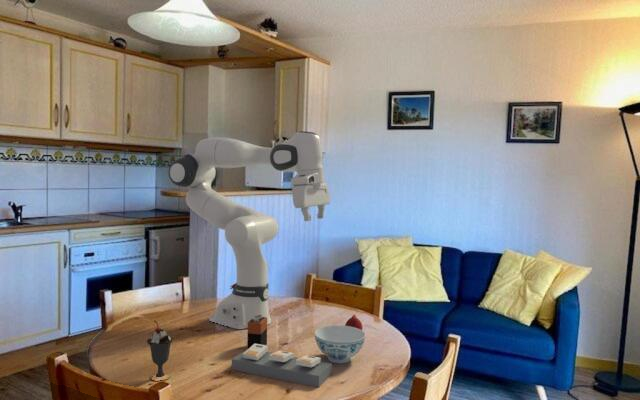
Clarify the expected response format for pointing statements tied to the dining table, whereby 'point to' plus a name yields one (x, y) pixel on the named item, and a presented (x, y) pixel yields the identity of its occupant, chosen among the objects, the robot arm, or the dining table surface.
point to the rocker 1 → (255, 351)
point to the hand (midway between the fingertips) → (314, 219)
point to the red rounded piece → (354, 322)
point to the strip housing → (284, 369)
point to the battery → (257, 331)
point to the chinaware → (339, 342)
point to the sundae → (160, 348)
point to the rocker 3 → (308, 361)
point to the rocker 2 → (281, 356)
